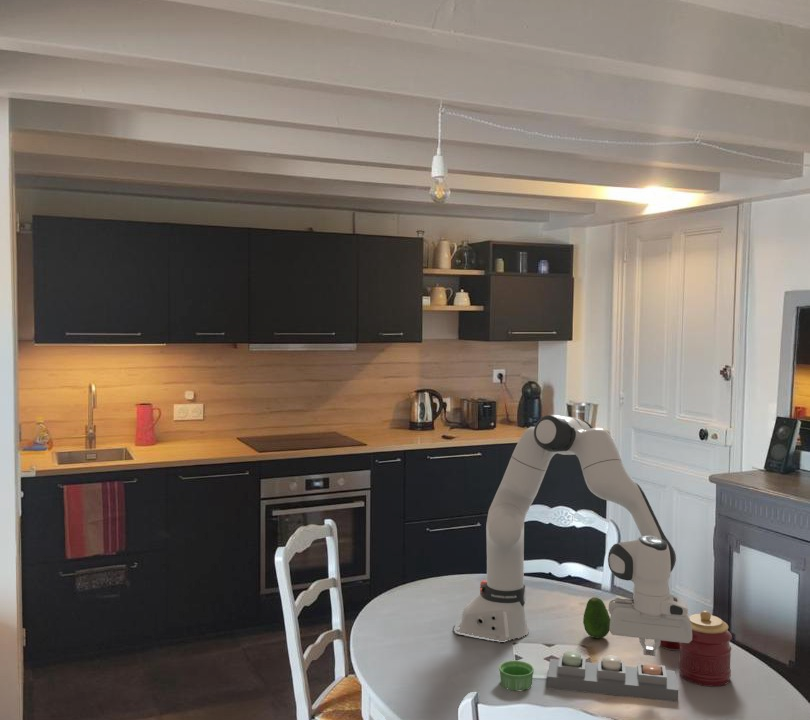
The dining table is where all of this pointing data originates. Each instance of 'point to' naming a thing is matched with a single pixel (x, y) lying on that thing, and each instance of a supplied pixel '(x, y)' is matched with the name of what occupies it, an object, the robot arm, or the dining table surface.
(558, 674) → the panel
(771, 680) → the dining table surface
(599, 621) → the avocado
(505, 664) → the ramekin
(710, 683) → the canister
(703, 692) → the dining table surface
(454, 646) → the dining table surface
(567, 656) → the sage button
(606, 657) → the cream button
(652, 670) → the terracotta button
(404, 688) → the dining table surface
